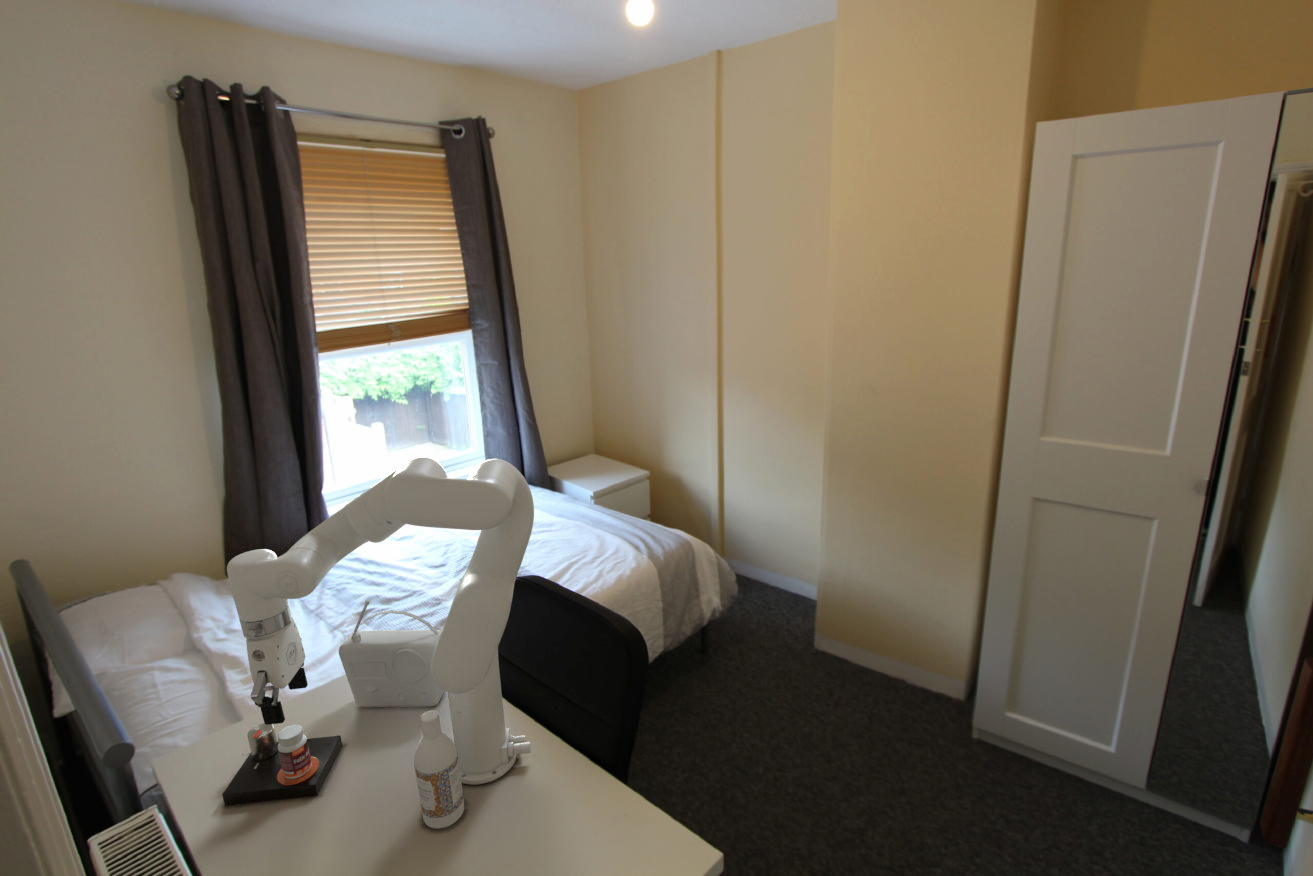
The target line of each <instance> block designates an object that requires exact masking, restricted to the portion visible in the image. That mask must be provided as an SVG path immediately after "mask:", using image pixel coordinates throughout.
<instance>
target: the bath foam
mask: <svg viewBox="0 0 1313 876" xmlns="http://www.w3.org/2000/svg"><path fill="white" fill-rule="evenodd" d="M420 726H421V732H422V736H421V737H420V740H419V742H418V744H417V745H416V748H415V751H414V756H413V758H414V759H413V763H414V771H415V777H416V778H415V779H416V783H417V791H418V797H419V803H420V808H421V815H422V819H423V822H424V824H425V825H426V826H428V827H429V828H432V829H439V830H440V829H444V828H447V827H450V826H452V825H454V824H455V823H456V822H457V821H459V819H460V818H461V817H462V816H463V814H464V811H465V800H464V791H463V783H461V776H460V769H459V762H458V755H457V750H456V747H455V742H454V740H453V739H452V738H451V737H450V736H449V735H448V734H447V733H446V732H444V731H443V730H442V725H441V719H440V713H439V712H438V711H437V710H434V709H433V710H428V711H425V712H424V713H423V714H421V716H420Z"/></svg>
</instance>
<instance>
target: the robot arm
mask: <svg viewBox="0 0 1313 876" xmlns="http://www.w3.org/2000/svg"><path fill="white" fill-rule="evenodd" d="M528 483H529V482H527V480H526V478H525V477H524V475H523V473H521V471H520V470H518V468H517V467H516V466H514V465H513V464H512V463H510V462H509V461H507V460H504V459H501V458H490V459H485V460H484V461H481V462H479V463H478V464H477V465H476V466H475V467H474V468H473V469H472V470H471V471H470V473H469V474H468V477H467V478H456V477H455V478H454V477H448V475H447V471H446V470H445V468H444V466H443V465H442V464H441V463H440V462H439V461H437V460H436V459H434V458H432V457H429V456H417V457H414V458H411V459H408V460H407V461H405V462H404V463H402V464H401V465H399V466H398V467H397V468H395V469H394V470H393V471H391V472H390V473H388V474H387V475H386V476H384V477H383V478H382V479H380V480H379V481H377V482H376V483H375V484H374V485H372V486H371V487H369V488H368V489H367V490H365V491H363V492H362V493H361V494H360V495H358V496H357V497H355V498H354V499H352V500H351V501H350V502H348V503H347V504H346V505H345V506H344V507H342V508H341V509H339V510H338V511H336V512H334V513H333V514H332V515H330V516H329V517H327V518H326V519H325V520H323V521H322V522H321V523H319V525H317V526H316V527H314V528H312V529H311V530H310V531H308V532H307V533H305V534H304V535H303V536H302V537H301V538H299V540H297V541H296V542H295V543H294V544H293V545H292V546H291V547H290V548H289V549H288V550H287V551H286V552H284V553H283V554H281V555H280V556H277V554H276V553H275V551H272V550H271V549H267V548H260V549H253V550H252V549H251V550H249V551H244V552H243V553H240V554H237V555H235V557H233V558H231V559H230V560H229V562H228V563H227V565H226V573H227V578H228V581H229V586H230V589H231V593H232V597H233V601H234V604H235V608H236V612H237V615H238V619H239V623H240V628H241V632H242V635H243V637H244V639H245V642H246V644H245V645H246V652H247V661H248V665H249V671H250V675H251V680H252V682H253V686H252V690H251V693H250V699H251V700H252V701H253V702H254V705H255V706H257V707H258V708H260V711H261V712H260V713H261V715H262V720H263V724H264V723H265V724H266V725H270V724H272V725H278V724H283V723H284V722H285V721H286V718H285V717H286V716H285V714H284V709H283V706H282V701H281V700H279V694H280V690H281V689H283V690H284V689H285V688H286V687H287V686H288V689H289V690H299V689H305V688H306V689H307V687H308V685H309V683H308V678H307V676H306V671H305V668H304V666H305V660H306V653H305V650H304V645H303V642H302V641H303V640H302V637H301V635H300V632H299V629H298V626H297V624H296V622H295V620H294V618H293V616H292V612H291V608H290V604H289V600H298V599H303V598H305V597H307V596H309V595H311V594H312V593H313V592H314V591H315V590H316V588H317V587H318V586H319V585H320V583H321V582H322V581H323V580H324V579H325V577H326V576H327V574H328V573H329V572H330V571H331V570H332V569H333V567H335V565H336V564H337V563H339V562H341V561H342V560H343V559H344V558H346V557H347V556H348V555H350V554H351V553H352V552H354V551H355V550H357V549H358V548H360V547H362V546H363V545H364V544H366V543H368V542H369V543H370V542H371V543H374V544H377V543H378V544H379V543H381V542H383V541H385V540H386V539H388V538H390V537H391V536H392V535H393V534H394V533H396V532H397V531H399V530H400V529H402V527H404V526H405V525H410V526H415V527H423V528H437V529H449V530H451V529H453V530H463V531H464V530H465V531H480V533H479V535H478V539H477V542H476V545H475V548H474V551H473V552H472V556H471V558H470V560H469V564H468V565H467V568H466V570H465V572H464V573H463V575H462V577H461V579H460V581H459V583H458V586H457V588H456V591H455V593H454V597H453V599H452V603H451V605H450V607H449V611H448V614H447V616H446V619H445V622H444V623H443V626H442V628H441V629H440V630H441V633H440V636H439V639H438V642H437V645H436V648H435V651H434V654H433V656H432V660H431V673H432V677H433V679H434V681H435V682H436V684H437V685H438V686H439V687H440V688H441V689H443V690H444V692H446V693H447V699H448V706H449V713H450V720H451V727H452V728H451V729H452V734H453V742H454V744H455V747H456V750H457V755H458V762H459V769H460V776H461V783H462V784H465V785H482V784H486V783H487V784H488V783H490V782H493V781H495V780H497V779H499V778H500V777H502V776H504V775H505V774H506V773H507V772H508V771H509V770H510V769H511V768H512V767H513V766H514V765H515V762H516V760H517V757H518V756H517V755H518V754H522V755H523V754H525V755H526V754H531V752H532V744H531V741H526V739H527V738H526V734H524V735H523V734H522V735H516V736H514V735H511V729H510V727H506V720H505V711H504V702H503V693H502V682H501V673H500V663H499V662H500V661H499V645H500V642H501V640H502V637H503V635H504V632H505V629H506V627H507V623H508V620H509V616H510V613H511V608H512V602H513V597H514V590H515V584H516V579H517V577H518V574H519V572H520V568H521V565H522V562H523V561H524V557H525V554H526V551H527V549H528V546H529V542H530V539H531V535H532V532H533V527H534V521H535V520H534V519H535V506H534V498H533V495H532V491H531V488H530V486H529V484H528ZM268 684H271V685H268ZM268 691H270V692H271V691H272V692H271V697H270V696H266V692H268Z"/></svg>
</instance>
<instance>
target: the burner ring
mask: <svg viewBox="0 0 1313 876" xmlns="http://www.w3.org/2000/svg"><path fill="white" fill-rule="evenodd" d="M310 758H311V762H312V766H311V769H310V770H309V771H308V772H307V773H306V774H304V775H303V776H301V777H298V778H295V779H288V778H286V777H285V776H284V775H283V770H282V768H281V770H280V771H279V772H278V775H277V781H278V782H279V783H280V784H282V785H295V784H298V783H301V782H303V781H305V780H307V779H308V778H310V777H311V776H312V775H314V774H315V772H316V771H317V770H318V768H319V761H318V759H317V758H315V757H310Z"/></svg>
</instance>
